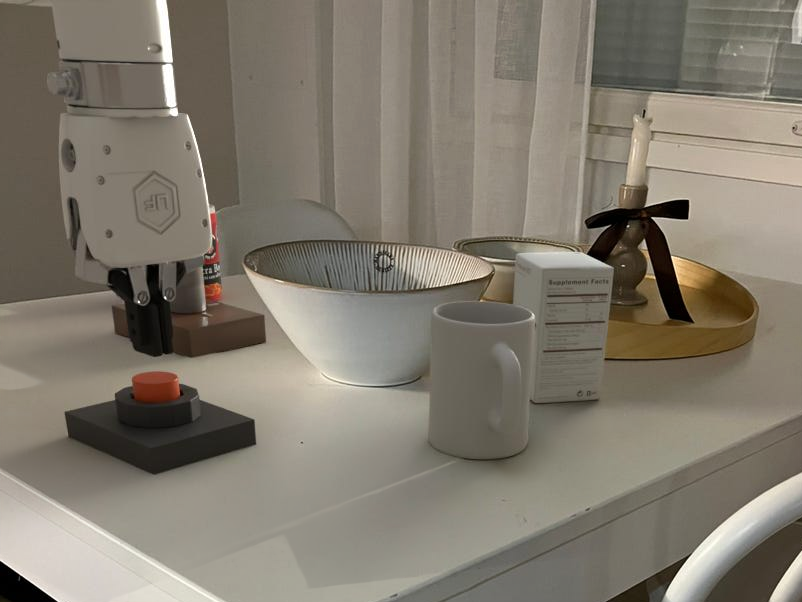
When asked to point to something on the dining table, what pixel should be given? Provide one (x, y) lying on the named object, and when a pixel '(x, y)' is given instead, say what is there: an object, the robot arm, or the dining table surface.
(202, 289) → the dial
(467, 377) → the mug
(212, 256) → the canned food
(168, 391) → the button
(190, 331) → the dial panel
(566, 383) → the white packaging box
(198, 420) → the button base
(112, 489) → the dining table surface
